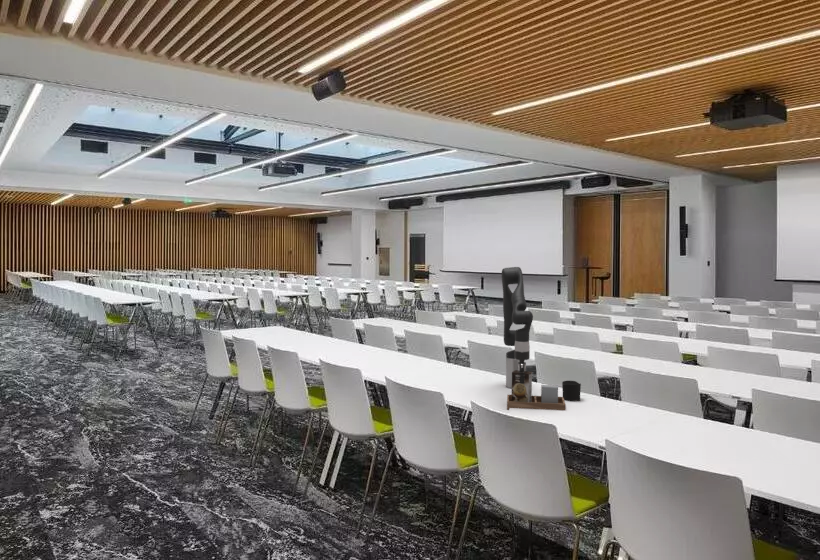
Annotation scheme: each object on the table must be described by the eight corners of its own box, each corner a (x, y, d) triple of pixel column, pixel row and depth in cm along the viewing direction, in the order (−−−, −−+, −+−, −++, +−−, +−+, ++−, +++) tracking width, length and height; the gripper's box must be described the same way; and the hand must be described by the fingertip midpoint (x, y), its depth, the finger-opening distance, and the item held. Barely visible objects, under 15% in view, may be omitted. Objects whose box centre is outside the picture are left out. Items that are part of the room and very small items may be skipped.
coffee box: (511, 403, 297) (511, 371, 296) (514, 400, 302) (515, 369, 302) (528, 405, 292) (528, 373, 292) (532, 402, 298) (532, 371, 297)
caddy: (507, 402, 306) (507, 394, 306) (563, 404, 301) (563, 396, 301) (507, 409, 292) (507, 401, 291) (565, 412, 286) (565, 404, 286)
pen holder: (560, 402, 306) (560, 383, 305) (564, 398, 314) (564, 379, 313) (578, 404, 301) (578, 385, 301) (582, 400, 309) (582, 381, 309)
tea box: (541, 404, 298) (541, 384, 298) (557, 404, 297) (557, 385, 296) (541, 406, 293) (541, 387, 293) (557, 407, 292) (558, 387, 291)
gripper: (514, 347, 304) (514, 378, 305) (514, 352, 290) (514, 384, 290) (529, 347, 302) (529, 378, 303) (529, 352, 288) (529, 385, 289)
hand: (521, 381), depth 297 cm, fingers closed on coffee box, 7 cm apart
